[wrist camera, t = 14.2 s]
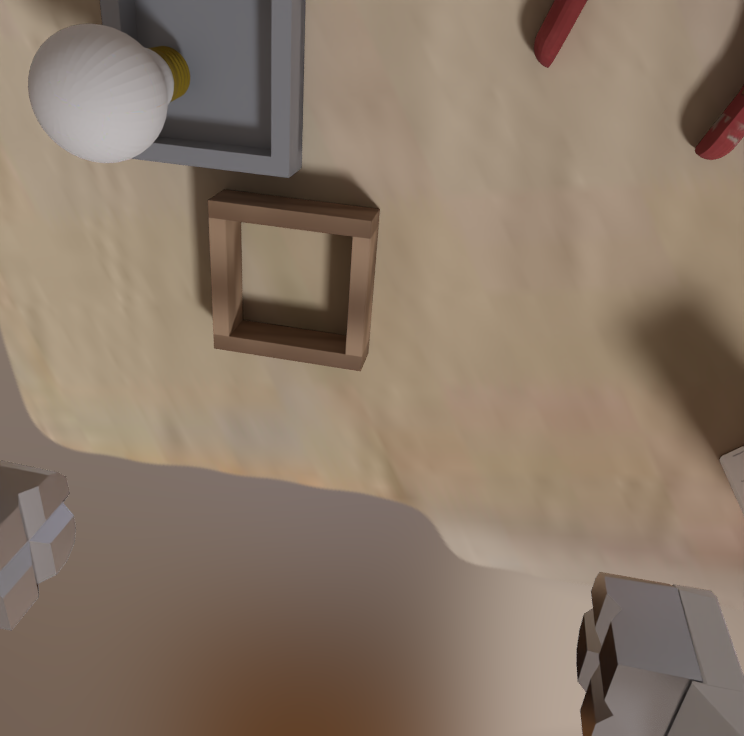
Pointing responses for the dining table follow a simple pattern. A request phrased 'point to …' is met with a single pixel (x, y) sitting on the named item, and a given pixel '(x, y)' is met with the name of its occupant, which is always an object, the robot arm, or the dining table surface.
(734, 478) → the ink box
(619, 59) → the dining table surface
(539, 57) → the pliers
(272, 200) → the frame
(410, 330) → the dining table surface
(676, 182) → the dining table surface
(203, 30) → the tray
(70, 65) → the light bulb
